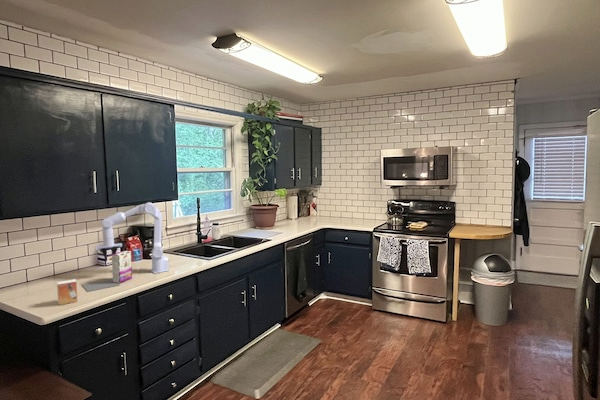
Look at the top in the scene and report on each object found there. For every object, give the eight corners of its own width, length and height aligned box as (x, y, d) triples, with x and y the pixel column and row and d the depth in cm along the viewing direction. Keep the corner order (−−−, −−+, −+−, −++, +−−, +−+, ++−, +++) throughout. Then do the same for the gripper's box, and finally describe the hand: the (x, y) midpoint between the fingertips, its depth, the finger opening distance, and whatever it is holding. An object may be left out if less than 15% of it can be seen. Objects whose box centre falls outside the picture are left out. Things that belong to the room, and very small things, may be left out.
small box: (58, 305, 181) (57, 284, 180) (58, 302, 185) (56, 281, 184) (78, 301, 185) (76, 281, 184) (76, 298, 190) (75, 278, 189)
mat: (112, 279, 223) (112, 278, 223) (119, 285, 211) (119, 284, 211) (81, 284, 213) (81, 284, 213) (87, 291, 200) (87, 291, 200)
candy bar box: (124, 277, 225) (124, 250, 224) (132, 278, 224) (131, 251, 223) (112, 282, 214) (111, 254, 213) (119, 283, 213) (119, 254, 212)
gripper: (119, 235, 233) (120, 256, 235) (93, 238, 224) (94, 260, 225) (122, 237, 228) (123, 258, 229) (96, 240, 219) (97, 263, 220)
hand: (109, 260), depth 227 cm, fingers open, 3 cm apart
